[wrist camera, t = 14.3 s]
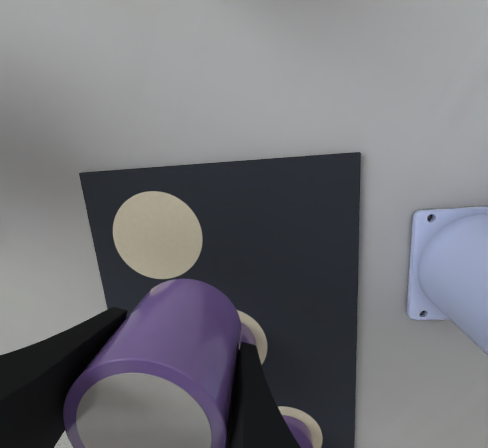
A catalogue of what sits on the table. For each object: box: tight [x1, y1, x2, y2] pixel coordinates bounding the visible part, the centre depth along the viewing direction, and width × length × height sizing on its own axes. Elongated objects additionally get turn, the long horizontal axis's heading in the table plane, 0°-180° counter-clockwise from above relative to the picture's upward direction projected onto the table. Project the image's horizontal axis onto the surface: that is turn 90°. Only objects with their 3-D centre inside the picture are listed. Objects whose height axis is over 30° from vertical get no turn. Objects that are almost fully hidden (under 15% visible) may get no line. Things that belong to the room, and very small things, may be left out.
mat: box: [79, 152, 361, 448], centre depth 23 cm, size 19×28×1 cm
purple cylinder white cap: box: [63, 279, 242, 448], centre depth 11 cm, size 5×5×5 cm
